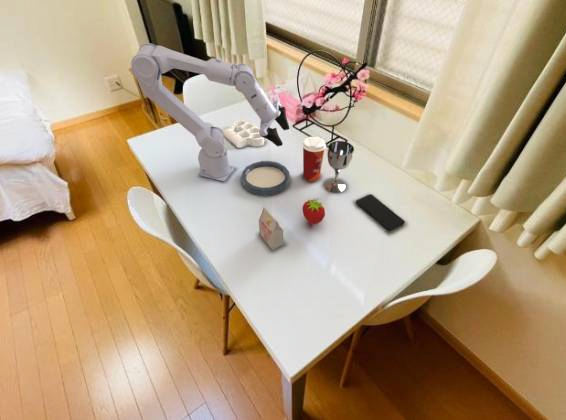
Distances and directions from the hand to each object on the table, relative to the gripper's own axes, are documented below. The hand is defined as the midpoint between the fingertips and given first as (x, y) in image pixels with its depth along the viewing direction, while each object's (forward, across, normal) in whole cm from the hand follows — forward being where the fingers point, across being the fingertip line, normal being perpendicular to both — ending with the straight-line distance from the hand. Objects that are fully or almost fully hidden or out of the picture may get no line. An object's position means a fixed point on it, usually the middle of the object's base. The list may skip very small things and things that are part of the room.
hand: (283, 137), depth 101 cm
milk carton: (+8, -35, -4) cm, 36 cm away
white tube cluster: (+5, +12, +26) cm, 29 cm away
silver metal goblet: (+20, -7, -12) cm, 24 cm away
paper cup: (+16, -4, -4) cm, 17 cm away
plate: (+8, -11, +8) cm, 16 cm away
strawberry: (+14, -26, -12) cm, 32 cm away
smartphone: (+25, -15, -27) cm, 40 cm away
